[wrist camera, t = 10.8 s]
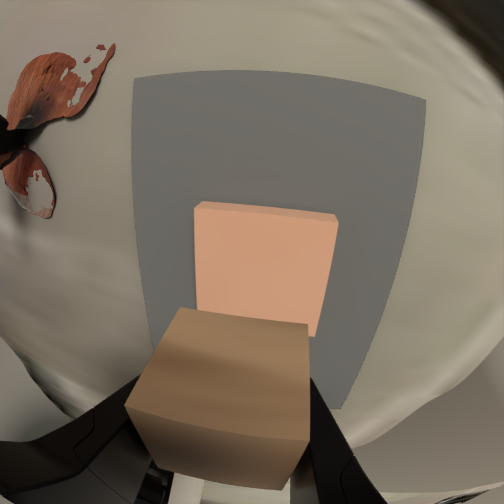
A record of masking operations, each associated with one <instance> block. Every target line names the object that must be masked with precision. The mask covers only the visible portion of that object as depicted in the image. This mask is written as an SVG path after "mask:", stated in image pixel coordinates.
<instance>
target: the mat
mask: <svg viewBox="0 0 504 504" xmlns="http://www.w3.org/2000/svg"><path fill="white" fill-rule="evenodd" d="M425 114H426V100H424V99H421V98H418V97H415V96H412V95H408V94H405V93H401V92H397V91H394V90H390V89H386V88H382V87H377V86H373V85H369V84H364V83H359V82H354V81H349V80H343V79H337V78H331V77H324V76H316V75H308V74H299V73H288V72H274V71H249V70H222V71H197V72H183V73H172V74H163V75H155V76H148V77H141V78H135V79H134V86H133V103H132V186H133V204H134V218H135V230H136V240H137V249H138V258H139V266H140V273H141V280H142V287H143V294H144V300H145V306H146V311H147V317H148V322H149V327H150V332H151V337H152V342H153V347H154V351H155V349H156V347H157V346H158V344H159V342H160V340H161V339H162V337H163V335H164V334H165V332H166V330H167V328H168V327H169V325H170V323H171V322H172V320H173V318H174V317H175V315H176V313H177V311H178V310H179V308H180V307H183V308H189V309H195V310H197V296H196V273H195V239H194V208H195V207H196V206H197V205H198V204H200V203H201V202H202V201H208V202H221V203H233V204H245V205H256V206H266V207H276V208H286V209H295V210H304V211H312V212H320V213H328V214H335V216H336V218H337V220H338V222H339V224H338V230H337V236H336V241H335V247H334V252H333V257H332V262H331V267H330V272H329V277H328V282H327V286H326V291H325V296H324V300H323V304H322V309H321V313H320V317H319V321H318V325H317V329H316V333H315V337H313V336H309V365H310V377H311V378H312V379H313V381H314V383H315V385H316V387H317V388H318V390H319V392H320V394H321V396H322V397H323V399H324V401H325V403H326V405H327V407H328V408H329V409H341V407H342V405H343V404H344V402H345V400H346V398H347V396H348V394H349V392H350V390H351V387H352V385H353V383H354V381H355V379H356V377H357V375H358V373H359V370H360V368H361V366H362V364H363V361H364V359H365V357H366V354H367V352H368V350H369V347H370V345H371V342H372V340H373V337H374V335H375V332H376V330H377V327H378V325H379V322H380V319H381V316H382V314H383V311H384V308H385V305H386V302H387V299H388V296H389V293H390V290H391V287H392V284H393V281H394V278H395V274H396V271H397V268H398V264H399V261H400V257H401V254H402V250H403V246H404V242H405V238H406V234H407V230H408V226H409V221H410V217H411V212H412V208H413V203H414V198H415V192H416V187H417V181H418V175H419V168H420V161H421V154H422V146H423V137H424V126H425Z"/></svg>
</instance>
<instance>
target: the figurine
mask: <svg viewBox="0 0 504 504" xmlns="http://www.w3.org/2000/svg"><path fill="white" fill-rule="evenodd" d="M96 48H97V49H100V51H101V50H106V49H105V47H104V45H98V46H97V47H96ZM114 49H115V43H114V44H113V45H112V46H111V47H110V48H109V50H108V52H107V55H106V57H105V59H104V61H103V62H102V63H101V64H100V65H99V66H98V67H97V68H95V69H93V70H92V71H91V74H92V75H93V77H92V80H91V81H90V82H89V83H88V84H87V85H86V82H83V81H82V82H80V79H81V77H78V76H77V74H75V73H74V74H73V72H70V70H71V69H73V68H74V67H75V66H76V60H75V59H73V58H72V57H70V56H69V55H66V54H64V53H58V52H55V53H51V54H45V55H40V56H38V57H36V58H35V59H33V60H32V61H31V62H30V63H28V64H27V65H26V67H25V68H24V69H23V71H22V73H21V75H20V77H19V79H18V82H17V85H16V89H15V91H14V92H13V93H12V95H11V98H10V100H9V105H8V113H7V118H6V119H5V118H4V117H2V116H1V115H0V170H2V171H3V176H4V179H5V184H6V185H7V186H8V188H9V191H10V193H11V194H12V195H13V196H14V199H15V201H17V203H18V204H19V205H21V207H22V208H23V209H27V210H28V211H29V212H31V213H33V214H34V215H39V216H41V217H43V218H48V217H50V216H51V213H52V210H53V206H54V192H53V188H52V185H51V181H50V179H49V176H48V173H47V170H46V168H45V166H44V164H43V162H42V161H41V159H40V157H39V156H38V155H37V154H36V153H35V152H34V151H32V150H27V145H25V144H22V143H23V142H22V141H21V136H20V129H22V128H23V129H30V128H35V127H37V126H39V125H40V124H41V123H44V122H46V121H47V120H52V119H53V118H59V117H62V116H65V117H71V116H73V115H75V114H77V113H78V112H79V111H80V110H81V109H82V108H83V107H84V105H85V104H86V103H87V101H88V100H89V98H90V97H91V95H92V94H93V92H94V91H95V89H96V86H97V83H98V81H99V79H100V75H101V73H102V72H103V71H104V69H105V65H106V63H107V61H108V59H109V58H110V57H111V56H112V55H113V53H114ZM90 59H91V58H90V57H87V58H86V59H85V60H84V62H83V63H87V62H89V61H90ZM67 67H68V73H67V75H66V76H65V77H64V78H63V80H62V81H60V78H61V75H62V74H63V72H64V70H65V69H66V68H67ZM85 85H86V86H85ZM84 86H85V87H84ZM77 87H79V88H82V87H84V90H83V92H82V93H81V95H80V99H79V100H80V102H78V103H77V104H76V105H72V98H73V96H74V95H75V92H76V90H77ZM68 100H70V101H71V104H70V106H71V105H72V106H71V107H69V108H68V107H67V102H68ZM39 169H40V170H42V176H43V177H44V178H45V179H46V181H47V182H48V183H49V185H50V187H51V189H52V192H53V200H52V204H51V207H50V208H49V209H46V208H45V207H44V206H43V207H42V210H41V211H39V212H37V214H36V213H35V212H34V211H32V209H31V207H30V206H29V200H28V192H26V190H25V186H26V187H28V185H27V181H28V178H27V177H28V176H29V177H30V176H31V177H32V178H33V171H34V170H36V171H37V170H39ZM36 177H37V178H36V181H38V177H39V175H37V173H36ZM21 183H22V184H21ZM30 184H31V183H30Z"/></svg>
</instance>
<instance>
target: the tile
mask: <svg viewBox="0 0 504 504" xmlns="http://www.w3.org/2000/svg"><path fill="white" fill-rule="evenodd" d="M338 224H339V222H338V220H337V218H336V216H335V214H328V213H320V212H312V211H304V210H295V209H286V208H276V207H266V206H256V205H245V204H233V203H221V202H208V201H202V202H201V203H200V204H198V205H197V206H196V207H195V208H194V239H195V273H196V296H197V310H201V311H207V312H214V313H221V314H228V315H235V316H242V317H250V318H258V319H266V320H275V321H284V322H293V323H304V324H308V335H309V336H313V337H315V333H316V329H317V325H318V321H319V317H320V313H321V309H322V304H323V300H324V296H325V291H326V286H327V282H328V277H329V272H330V267H331V262H332V257H333V252H334V247H335V241H336V236H337V230H338Z"/></svg>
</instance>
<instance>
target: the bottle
mask: <svg viewBox="0 0 504 504" xmlns="http://www.w3.org/2000/svg"><path fill="white" fill-rule="evenodd" d="M204 483H205V480H203V479H199V478H194V477H190V476H186V475H182V474H179V473H174V478H173V483H172V487H171V492H170V497H169V502H168V504H199V503H200V499H201V495H202V491H203V487H204Z"/></svg>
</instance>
